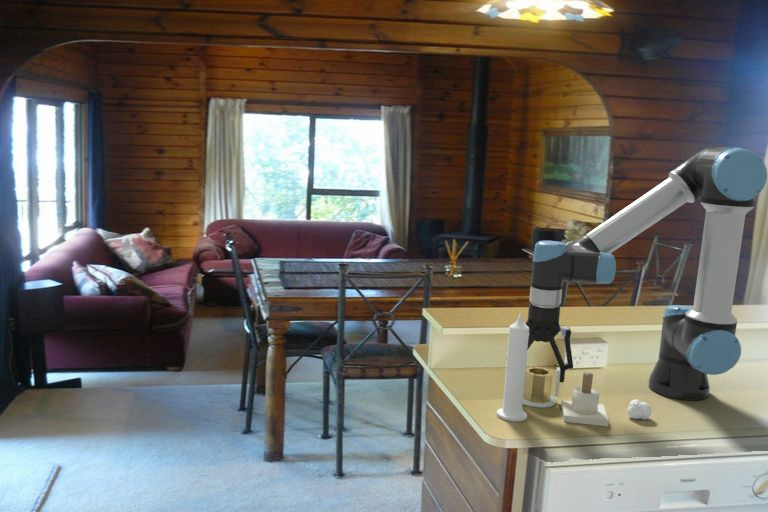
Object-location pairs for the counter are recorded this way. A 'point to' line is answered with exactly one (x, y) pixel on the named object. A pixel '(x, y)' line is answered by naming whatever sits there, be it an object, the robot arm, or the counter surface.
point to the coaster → (541, 405)
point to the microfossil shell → (639, 410)
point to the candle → (515, 372)
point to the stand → (585, 405)
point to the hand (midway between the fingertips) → (536, 391)
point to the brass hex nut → (537, 385)
